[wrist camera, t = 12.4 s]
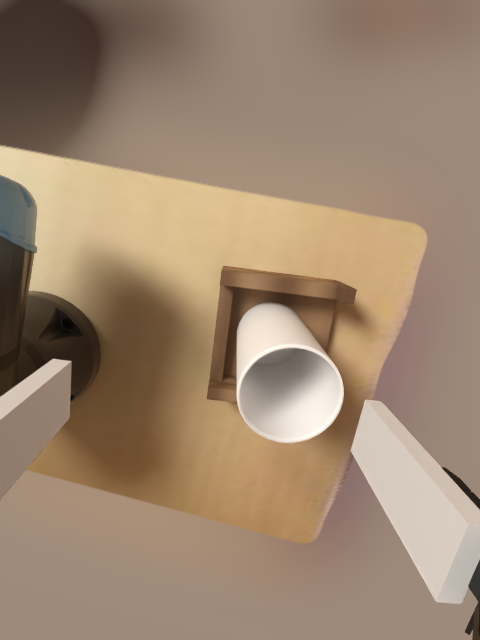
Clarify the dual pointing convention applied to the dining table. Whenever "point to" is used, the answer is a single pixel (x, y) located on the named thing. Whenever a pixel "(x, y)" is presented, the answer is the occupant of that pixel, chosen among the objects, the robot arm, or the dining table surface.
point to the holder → (261, 287)
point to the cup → (284, 376)
